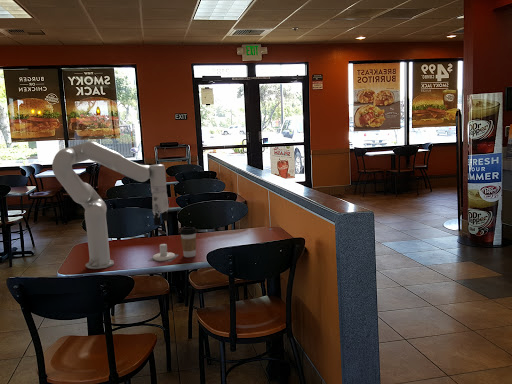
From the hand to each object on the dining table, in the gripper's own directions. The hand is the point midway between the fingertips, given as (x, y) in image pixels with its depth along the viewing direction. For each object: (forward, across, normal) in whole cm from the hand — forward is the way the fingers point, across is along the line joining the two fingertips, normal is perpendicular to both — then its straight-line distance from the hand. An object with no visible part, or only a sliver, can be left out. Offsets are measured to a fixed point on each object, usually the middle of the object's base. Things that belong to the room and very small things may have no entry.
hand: (161, 223), depth 238 cm
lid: (+18, 0, 0) cm, 18 cm away
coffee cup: (+19, +4, -12) cm, 23 cm away
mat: (+18, 0, 0) cm, 19 cm away
